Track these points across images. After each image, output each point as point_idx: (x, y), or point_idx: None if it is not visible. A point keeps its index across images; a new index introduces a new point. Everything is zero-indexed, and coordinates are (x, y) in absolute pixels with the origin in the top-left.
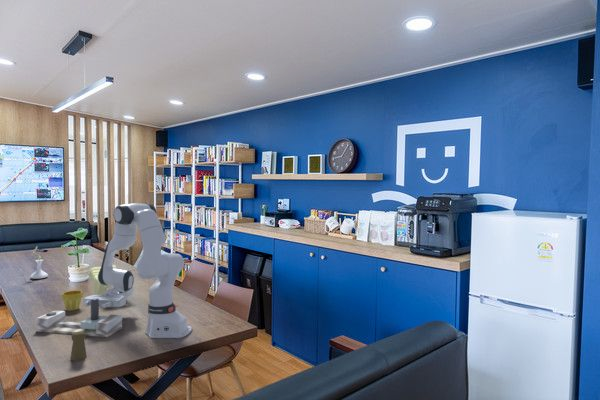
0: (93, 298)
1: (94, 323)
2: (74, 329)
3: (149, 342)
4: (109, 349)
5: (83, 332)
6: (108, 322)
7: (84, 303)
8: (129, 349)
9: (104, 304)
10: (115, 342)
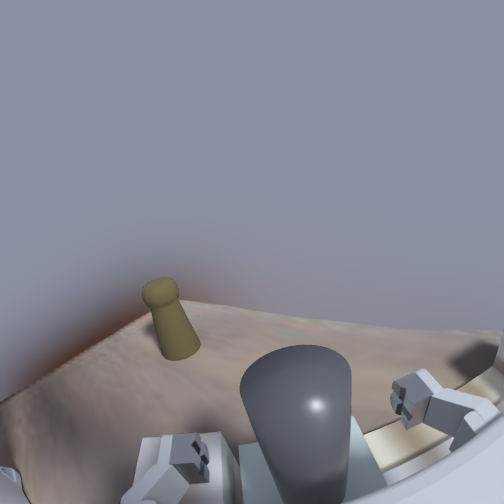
0: (478, 453)
1: (246, 445)
2: (412, 443)
3: (22, 446)
4: (119, 398)
5: (144, 287)
6: (144, 450)
7: (422, 369)
8: (66, 407)
9: (164, 436)
10: (118, 441)
